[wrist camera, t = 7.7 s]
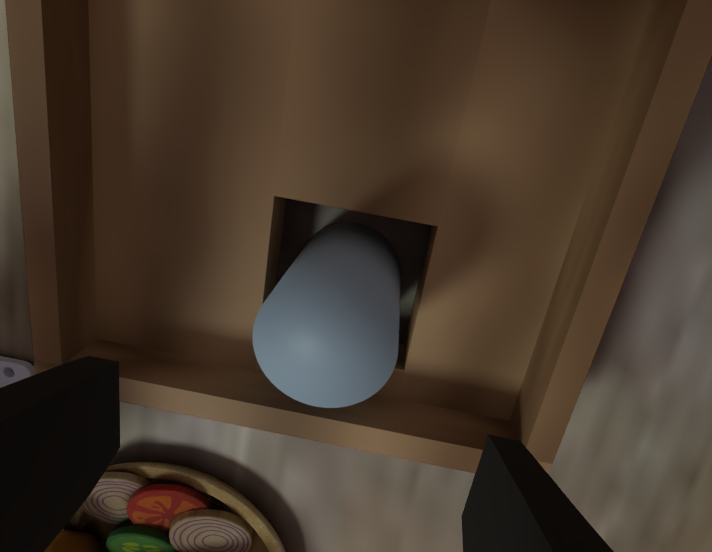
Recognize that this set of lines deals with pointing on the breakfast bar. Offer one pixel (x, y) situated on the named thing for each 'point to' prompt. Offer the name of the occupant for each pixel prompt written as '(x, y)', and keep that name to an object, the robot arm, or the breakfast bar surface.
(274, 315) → the peg
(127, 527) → the toy sandwich meal
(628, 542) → the breakfast bar surface
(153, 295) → the box with square hole
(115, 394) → the robot arm
